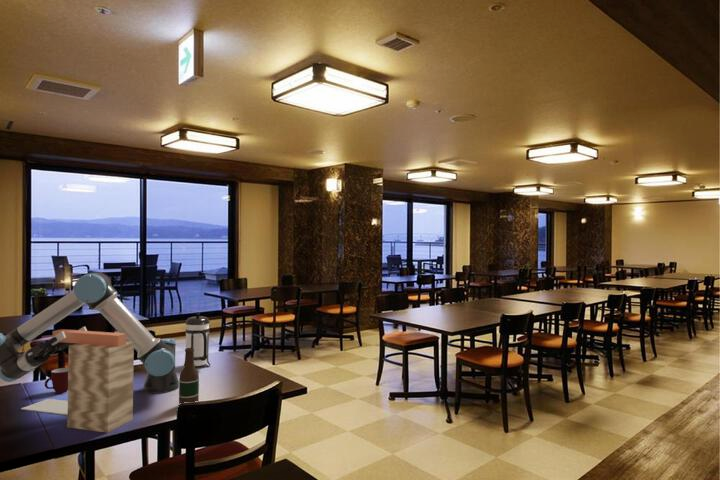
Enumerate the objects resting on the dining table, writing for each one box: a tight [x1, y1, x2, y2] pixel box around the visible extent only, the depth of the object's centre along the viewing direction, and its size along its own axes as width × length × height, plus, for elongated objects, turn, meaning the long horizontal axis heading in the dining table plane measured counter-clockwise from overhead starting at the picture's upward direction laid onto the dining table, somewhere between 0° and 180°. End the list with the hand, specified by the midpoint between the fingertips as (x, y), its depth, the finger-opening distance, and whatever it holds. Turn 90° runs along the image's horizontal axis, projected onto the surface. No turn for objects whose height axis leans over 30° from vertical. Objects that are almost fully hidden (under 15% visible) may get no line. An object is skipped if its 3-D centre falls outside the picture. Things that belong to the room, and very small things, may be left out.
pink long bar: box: [52, 328, 127, 347], centre depth 168 cm, size 30×4×4 cm, turn 76°
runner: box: [20, 398, 68, 416], centre depth 182 cm, size 30×12×1 cm, turn 76°
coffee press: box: [183, 312, 211, 368], centre depth 245 cm, size 17×16×30 cm
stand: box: [66, 340, 135, 433], centre depth 167 cm, size 18×12×30 cm, turn 76°
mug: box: [44, 367, 68, 394], centre depth 200 cm, size 11×8×10 cm
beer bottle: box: [178, 348, 200, 405], centre depth 186 cm, size 8×8×24 cm
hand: (75, 331), depth 170 cm, fingers open, 9 cm apart
